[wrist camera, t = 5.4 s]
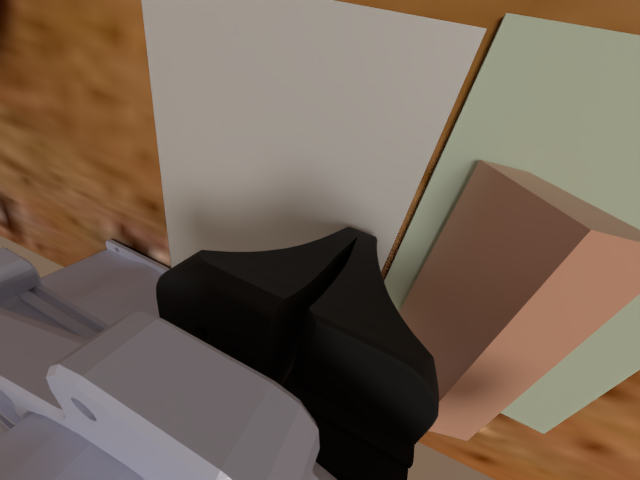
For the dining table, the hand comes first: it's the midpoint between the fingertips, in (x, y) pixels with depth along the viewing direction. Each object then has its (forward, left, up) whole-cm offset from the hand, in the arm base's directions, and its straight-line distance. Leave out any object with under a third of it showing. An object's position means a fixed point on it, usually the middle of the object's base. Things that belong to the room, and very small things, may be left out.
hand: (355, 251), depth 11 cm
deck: (-5, 0, -4) cm, 6 cm away
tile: (+4, 0, 0) cm, 4 cm away
